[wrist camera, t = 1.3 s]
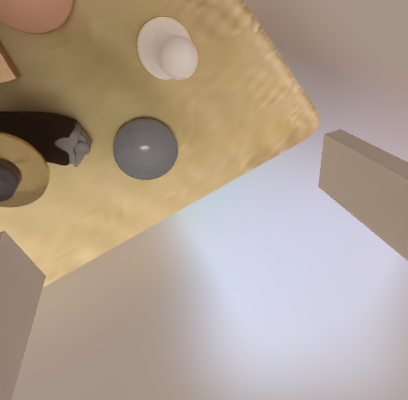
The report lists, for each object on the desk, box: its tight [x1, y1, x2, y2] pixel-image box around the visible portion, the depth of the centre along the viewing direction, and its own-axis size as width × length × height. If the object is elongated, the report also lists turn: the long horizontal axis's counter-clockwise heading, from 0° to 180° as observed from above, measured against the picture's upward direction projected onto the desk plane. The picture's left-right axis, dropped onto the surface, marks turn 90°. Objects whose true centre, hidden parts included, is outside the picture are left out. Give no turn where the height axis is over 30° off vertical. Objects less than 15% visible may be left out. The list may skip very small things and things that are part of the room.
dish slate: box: [114, 118, 178, 180], centre depth 29 cm, size 7×7×1 cm
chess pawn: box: [137, 17, 198, 80], centre depth 21 cm, size 5×5×9 cm
